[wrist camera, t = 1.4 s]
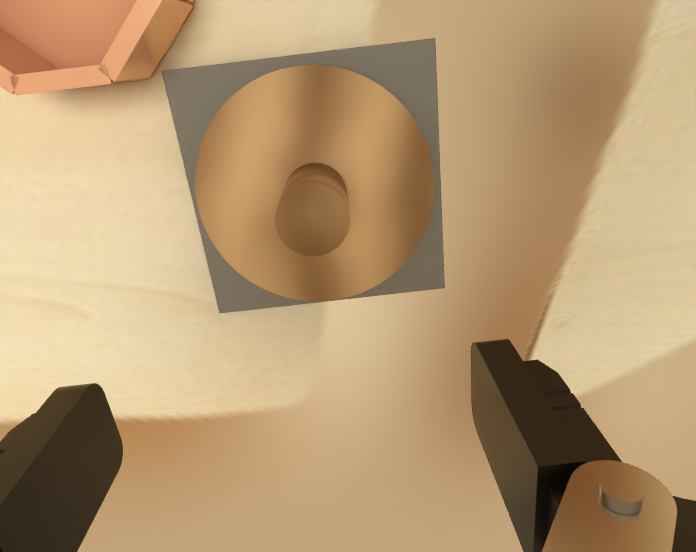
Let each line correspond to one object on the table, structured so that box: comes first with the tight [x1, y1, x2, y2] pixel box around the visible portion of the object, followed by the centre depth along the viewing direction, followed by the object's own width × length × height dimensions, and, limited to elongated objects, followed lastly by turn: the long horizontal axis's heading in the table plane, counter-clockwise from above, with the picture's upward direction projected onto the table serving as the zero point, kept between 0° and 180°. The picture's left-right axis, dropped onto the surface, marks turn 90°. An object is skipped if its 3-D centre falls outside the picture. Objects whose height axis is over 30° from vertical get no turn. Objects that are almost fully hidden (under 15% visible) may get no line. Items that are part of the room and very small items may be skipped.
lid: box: [195, 65, 435, 301], centre depth 26 cm, size 13×13×6 cm
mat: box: [162, 38, 445, 313], centre depth 29 cm, size 14×14×1 cm
